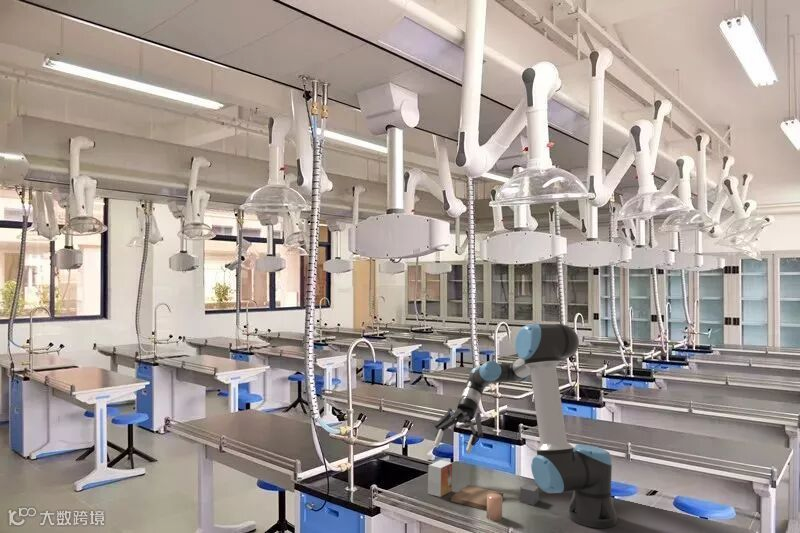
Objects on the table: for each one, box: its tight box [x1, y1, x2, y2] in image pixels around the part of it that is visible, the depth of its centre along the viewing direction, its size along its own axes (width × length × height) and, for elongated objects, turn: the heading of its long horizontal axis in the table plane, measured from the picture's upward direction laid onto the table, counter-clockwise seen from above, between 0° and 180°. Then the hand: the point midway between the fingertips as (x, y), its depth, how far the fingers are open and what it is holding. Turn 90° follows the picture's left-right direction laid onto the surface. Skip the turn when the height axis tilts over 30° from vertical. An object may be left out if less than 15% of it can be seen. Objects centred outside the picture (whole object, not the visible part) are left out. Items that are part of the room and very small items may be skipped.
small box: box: [427, 459, 453, 498], centre depth 205 cm, size 8×6×10 cm
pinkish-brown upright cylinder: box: [486, 493, 503, 522], centre depth 184 cm, size 5×5×7 cm
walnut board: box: [450, 484, 504, 511], centre depth 199 cm, size 14×14×2 cm
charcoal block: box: [519, 483, 540, 506], centre depth 199 cm, size 5×5×5 cm
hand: (451, 448), depth 214 cm, fingers open, 13 cm apart
